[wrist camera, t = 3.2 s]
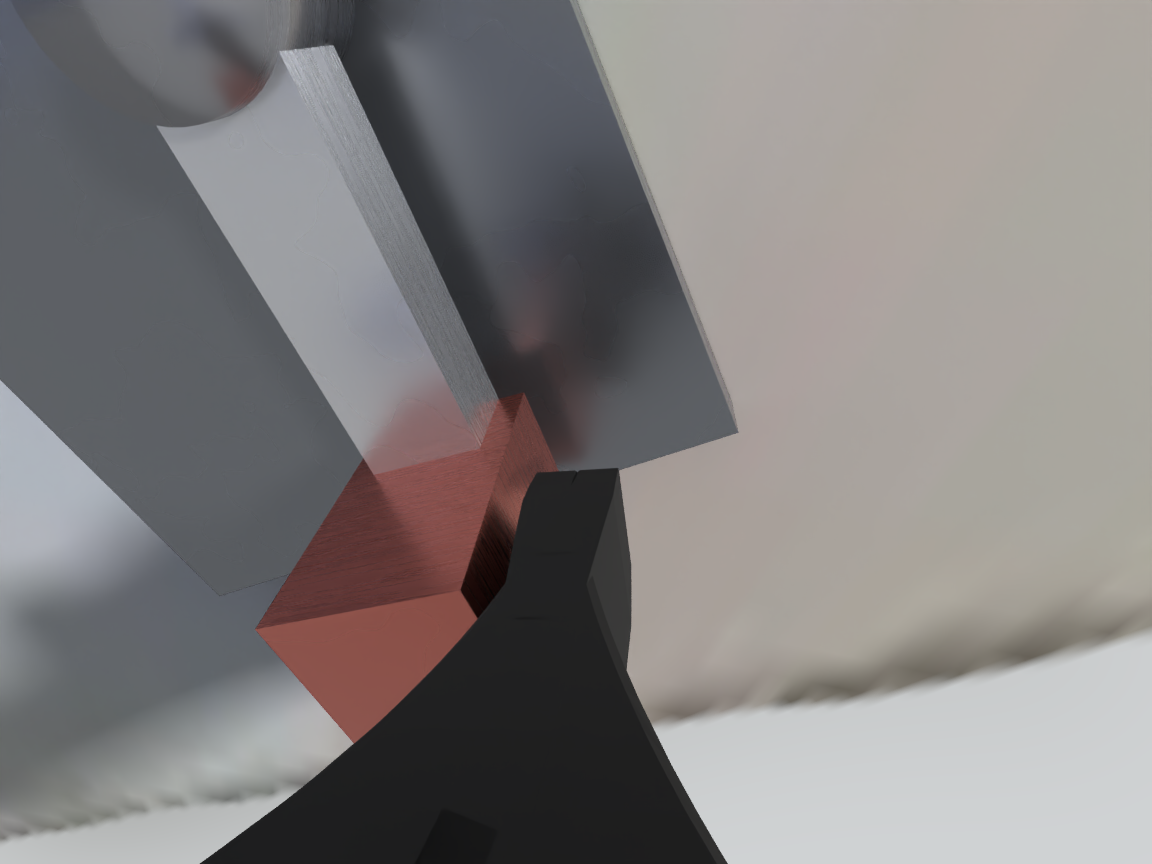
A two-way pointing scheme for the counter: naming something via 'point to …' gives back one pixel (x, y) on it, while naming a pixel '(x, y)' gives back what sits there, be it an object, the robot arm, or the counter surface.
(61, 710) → the counter surface
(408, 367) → the lever
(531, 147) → the base
